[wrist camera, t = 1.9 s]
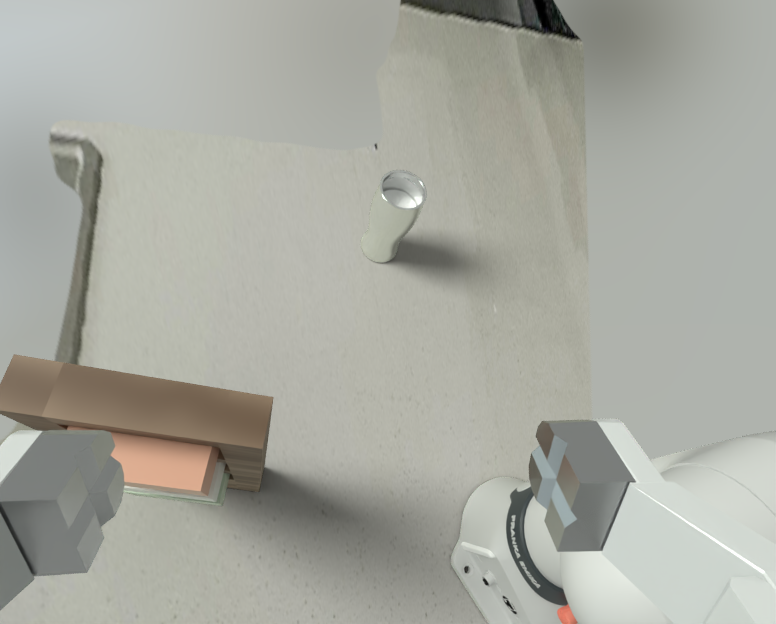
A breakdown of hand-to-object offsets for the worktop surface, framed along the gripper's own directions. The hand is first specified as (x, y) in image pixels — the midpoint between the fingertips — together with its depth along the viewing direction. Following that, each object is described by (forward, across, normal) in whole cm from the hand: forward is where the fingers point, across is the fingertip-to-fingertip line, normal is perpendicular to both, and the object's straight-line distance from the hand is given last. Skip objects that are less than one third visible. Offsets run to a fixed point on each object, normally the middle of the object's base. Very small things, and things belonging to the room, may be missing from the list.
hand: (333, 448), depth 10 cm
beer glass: (+67, +6, -23) cm, 71 cm away
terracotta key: (+18, -13, -18) cm, 29 cm away
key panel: (+37, -17, -40) cm, 57 cm away
